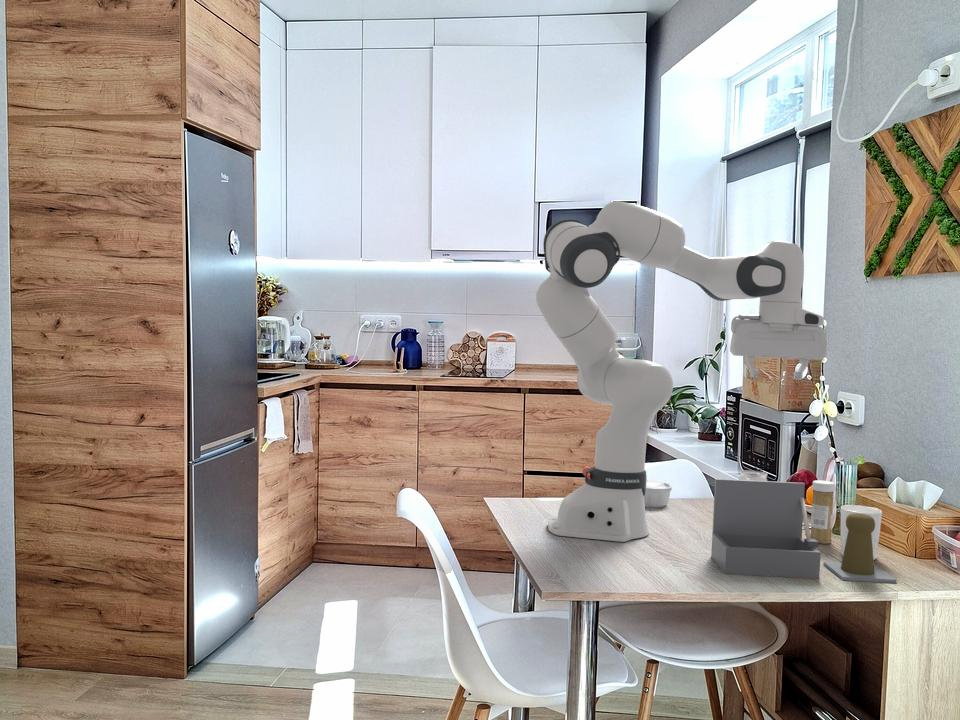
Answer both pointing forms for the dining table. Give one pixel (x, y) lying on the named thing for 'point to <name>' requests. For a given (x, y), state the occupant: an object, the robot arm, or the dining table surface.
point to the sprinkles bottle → (822, 511)
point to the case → (762, 529)
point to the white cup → (852, 509)
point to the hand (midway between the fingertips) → (775, 378)
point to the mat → (877, 577)
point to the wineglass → (752, 475)
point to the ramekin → (656, 494)
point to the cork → (859, 545)
